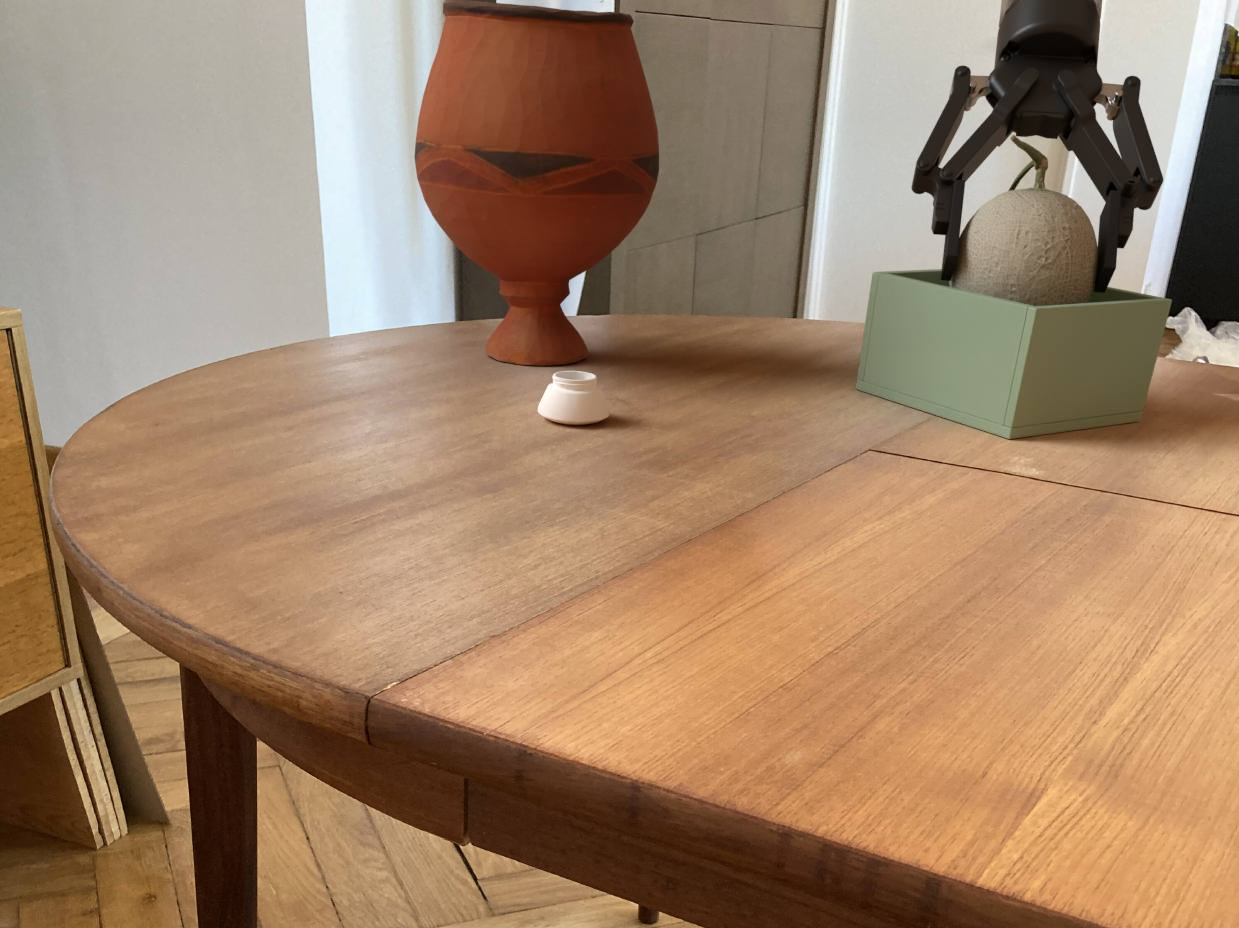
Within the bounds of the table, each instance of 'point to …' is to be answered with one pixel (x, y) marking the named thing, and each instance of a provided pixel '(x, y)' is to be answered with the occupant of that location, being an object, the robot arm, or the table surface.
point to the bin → (1009, 355)
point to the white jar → (574, 399)
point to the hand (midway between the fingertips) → (1026, 274)
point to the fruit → (1029, 245)
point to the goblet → (536, 156)
